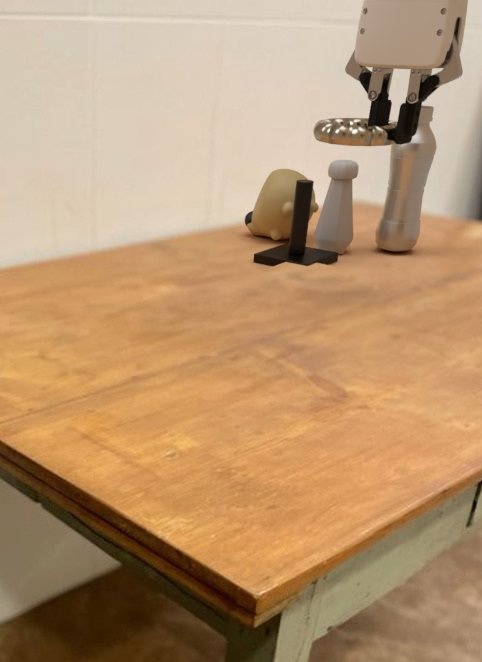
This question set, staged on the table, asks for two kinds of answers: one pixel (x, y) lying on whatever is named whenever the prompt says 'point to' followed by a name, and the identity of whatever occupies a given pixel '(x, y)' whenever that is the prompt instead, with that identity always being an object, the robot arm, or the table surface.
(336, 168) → the salt shaker
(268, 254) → the stand
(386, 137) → the beaded metal ring
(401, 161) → the silver metal bottle
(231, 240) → the table surface
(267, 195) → the toy pig
